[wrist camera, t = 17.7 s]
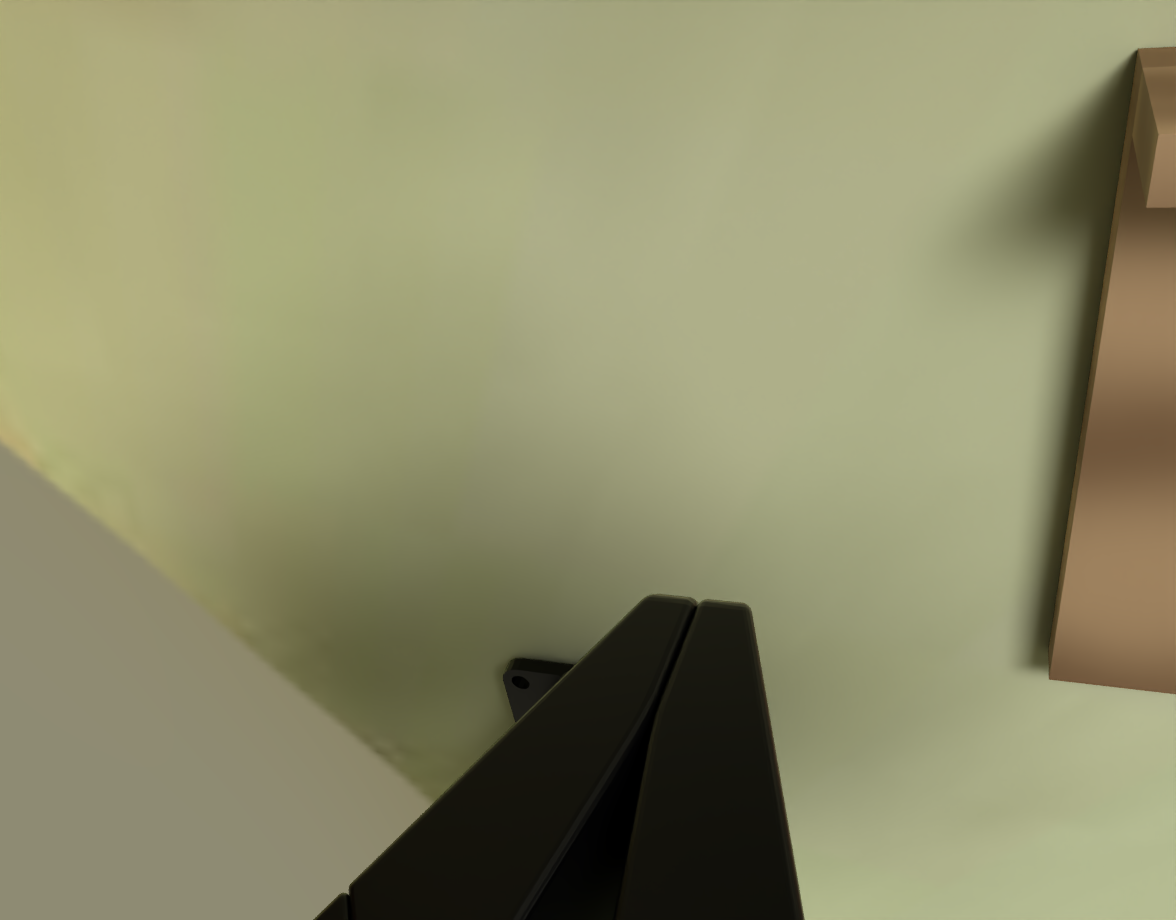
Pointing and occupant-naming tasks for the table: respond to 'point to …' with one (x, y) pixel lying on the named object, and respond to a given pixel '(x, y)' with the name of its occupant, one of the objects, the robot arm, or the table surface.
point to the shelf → (1129, 426)
